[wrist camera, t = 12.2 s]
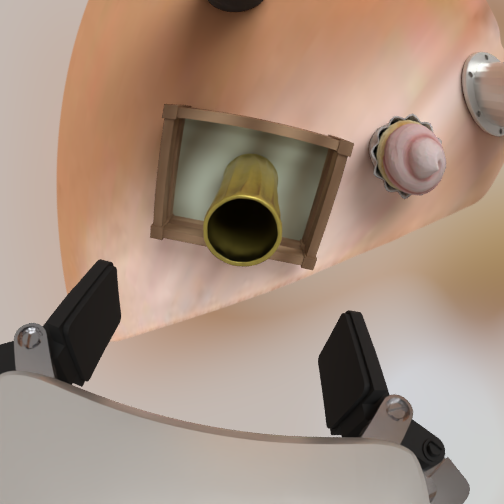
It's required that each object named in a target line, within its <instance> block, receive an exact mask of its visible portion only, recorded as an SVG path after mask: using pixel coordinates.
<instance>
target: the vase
mask: <svg viewBox="0 0 504 504" xmlns="http://www.w3.org/2000/svg"><path fill="white" fill-rule="evenodd" d="M277 187H278V174H277V171H276V169H275V167H274V166H273V164H272V163H271V162H270V161H269V160H268V159H266V158H265V157H263V156H260V155H257V154H244V155H240V156H238V157H236V158H235V159H233V160H232V161H231V162H230V163H229V164H228V165H227V167H226V169H225V171H224V174H223V180H222V183H221V186H220V188H219V190H218V192H217V194H216V196H215V198H214V200H213V202H212V204H211V206H210V208H209V209H208V211H207V213H206V215H205V218H204V223H203V236H204V241H205V243H206V245H207V247H208V249H209V250H210V251H211V253H212V254H213V255H214V256H216V257H217V258H218V259H220V260H222V261H223V262H225V263H227V264H230V265H234V266H252V265H257V264H259V263H261V262H264V261H265V260H267V259H268V258H270V257H271V256H272V255H273V254H274V253H275V251H276V250H277V248H278V247H279V245H280V243H281V240H282V222H281V219H280V217H281V214H280V208H279V203H278V193H277Z"/></svg>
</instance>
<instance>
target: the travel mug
mask: <svg viewBox="0 0 504 504" xmlns="http://www.w3.org/2000/svg"><path fill="white" fill-rule="evenodd" d="M208 1H209V2H210V3H211V4H212V5H213V6H214V7H216V8H218V9H221V10H224V11H229V12H240V11H245V10H249V9H251V8H254V7H255V6H257V5H259V4H260V3H261V2H262V1H263V0H208Z"/></svg>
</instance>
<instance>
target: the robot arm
mask: <svg viewBox="0 0 504 504" xmlns="http://www.w3.org/2000/svg"><path fill="white" fill-rule="evenodd" d="M462 85H463V92H464V97H465V101H466V104H467V107H468V109H469V111H470V113H471V115H472V117H473V119H474V120H475V122H476V123H477V124H478V126H479V127H480V128H481V129H482V130H483V131H485V132H486V133H488V134H491V135H494V136H504V62H500V61H499V60H498V59H497V58H496V57H495V56H493V55H491V54H489V53H485V52H477V53H474V54H472V55H471V56H469V57H468V59H467V60H466V62H465V65H464V68H463V73H462ZM120 320H121V310H120V302H119V292H118V281H117V269H116V267H114V266H113V263H112V262H109V261H105V260H101V259H100V260H98V261H97V262H96V263H95V264H94V265H93V267H92V268H91V269H90V270H89V271H88V272H87V273H86V275H85V276H84V277H83V278H82V279H81V280H80V282H79V283H78V284H77V285H76V286H75V287H74V288H73V289H72V290H71V291H70V293H69V294H68V295H67V296H66V298H65V299H64V300H63V301H62V303H61V304H60V305H59V306H58V307H57V309H56V310H55V311H54V313H53V314H52V315H51V316H50V318H49V319H48V320H47V322H46V323H45V324H44V326H41V325H39V324H36V323H29V324H26V325H23V326H22V327H20V328H19V329H18V330H17V332H16V334H15V336H14V341H12V342H8V343H5V344H1V345H0V504H463V503H464V501H465V500H466V499H467V497H468V495H469V491H470V487H469V484H468V482H467V480H466V479H465V478H464V476H463V475H462V474H461V473H460V471H459V470H458V469H457V468H456V466H455V465H454V464H453V463H452V461H451V460H450V459H449V458H446V459H445V458H444V455H445V448H444V445H443V443H442V442H441V440H440V439H439V438H437V437H436V436H435V435H433V434H432V433H430V432H429V431H427V430H426V429H425V428H423V427H422V426H421V425H419V424H418V423H416V422H415V421H414V420H412V417H413V409H412V407H411V405H410V403H409V402H408V401H407V400H406V399H405V398H404V397H402V396H400V395H389V392H388V389H387V385H386V382H385V379H384V376H383V373H382V370H381V367H380V364H379V361H378V358H377V355H376V352H375V349H374V346H373V344H372V341H371V338H370V335H369V332H368V330H367V327H366V324H365V322H364V319H363V316H362V314H361V313H360V312H355V311H347V312H346V313H343V314H341V316H340V318H339V320H338V322H337V324H336V326H335V328H334V329H333V331H332V333H331V335H330V337H329V339H328V341H327V342H326V344H325V346H324V348H323V350H322V351H321V353H320V355H319V358H318V365H319V372H320V379H321V385H322V393H323V400H324V408H325V416H326V424H327V427H328V428H330V431H331V435H342V437H301V436H282V435H270V434H260V433H251V432H243V431H236V430H229V429H223V428H217V427H211V426H205V425H201V424H195V423H191V422H186V421H182V420H178V419H173V418H169V417H165V416H161V415H158V414H154V413H151V412H147V411H143V410H140V409H137V408H134V407H130V406H127V405H124V404H121V403H118V402H115V401H112V400H110V399H107V398H104V397H101V396H99V395H96V394H93V393H91V392H88V391H85V390H83V389H80V388H78V387H75V386H73V385H72V383H75V384H77V385H79V386H83V384H84V382H85V381H89V379H90V378H91V376H92V374H93V372H94V369H95V368H96V366H97V364H98V362H99V360H100V358H101V356H102V354H103V352H104V350H105V348H106V347H107V345H108V343H109V341H110V339H111V337H112V336H113V334H114V332H115V330H116V328H117V327H118V325H119V323H120Z"/></svg>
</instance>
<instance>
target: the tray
mask: <svg viewBox="0 0 504 504" xmlns="http://www.w3.org/2000/svg"><path fill="white" fill-rule="evenodd" d="M162 118H165V119H164V126H163V132H162V139H161V147H160V155H159V163H158V172H157V182H156V193H155V205H154V220H153V224H152V225H151V233H150V238H155V239H160V240H162V239H163V238H167V239H172V240H177V241H182V242H187V243H192V244H197V245H202V246H207V245H206V243H205V241H204V236H203V223H204V218H205V215H206V213H207V211H208V209H209V208H210V206H211V204H212V202H213V200H214V198H215V196H216V194H217V192H218V190H219V188H220V186H221V183H222V180H223V174H224V171H225V169H226V167H227V165H228V164H229V163H230V162H231V161H232V160H233V159H235V158H236V157H238V156H240V155H244V154H257V155H260V156H263V157H265V158H266V159H268V160H269V161H270V162H271V163H272V164H273V166H274V167H275V169H276V171H277V174H278V187H277V193H278V203H279V208H280V214H281V217H280V219H281V222H282V240H281V243H280V245H279V247H278V248H277V250H276V251H275V253H274V254H273V255H272V256H271V257H270V258H268V259H272V260H277V261H282V262H287V263H292V264H297V265H301V268H305V269H310V270H313V269H314V266H315V263H316V261H317V258H316V254H317V251H318V248H319V245H320V242H321V240H322V237H323V234H324V231H325V228H326V225H327V222H328V219H329V216H330V213H331V210H332V207H333V203H334V200H335V197H336V194H337V191H338V188H339V184H340V181H341V178H342V174H343V171H344V168H345V164H346V161H347V157H348V156H349V157H350V156H351V153H352V149H353V146H354V143H351V142H349V141H346V140H344V139H341V138H338V137H335V136H331V135H328V136H325V135H322V134H319V133H315V132H311V131H308V130H304V129H300V128H296V127H292V126H288V125H284V124H280V123H275V122H271V121H266V120H262V119H257V118H252V117H247V116H242V115H236V114H230V113H224V112H218V111H211V110H204V109H197V108H191V106H186V105H174V104H164V109H163V115H162Z"/></svg>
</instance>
